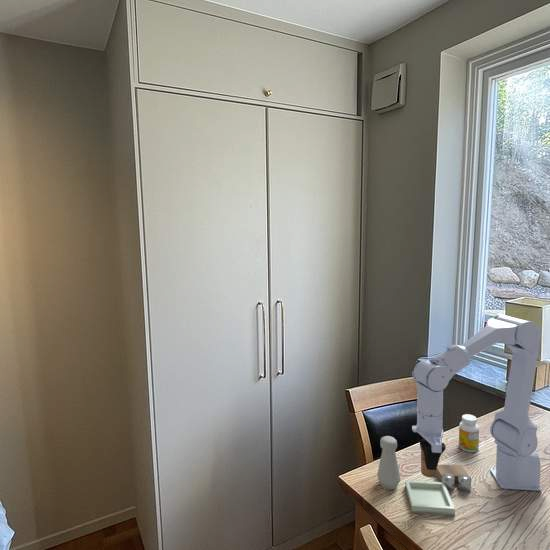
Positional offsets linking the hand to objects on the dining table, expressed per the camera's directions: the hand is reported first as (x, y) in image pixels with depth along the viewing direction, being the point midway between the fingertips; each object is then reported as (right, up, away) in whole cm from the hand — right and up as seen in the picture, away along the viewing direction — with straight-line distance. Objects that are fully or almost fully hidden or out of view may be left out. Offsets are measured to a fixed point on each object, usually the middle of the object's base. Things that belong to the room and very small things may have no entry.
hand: (429, 463), depth 97 cm
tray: (0, -10, +1) cm, 10 cm away
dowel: (0, -2, 0) cm, 3 cm away
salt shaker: (-8, -9, +8) cm, 14 cm away
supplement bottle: (+21, -6, +23) cm, 32 cm away
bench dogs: (+9, -9, +5) cm, 14 cm away
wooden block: (+10, -9, +10) cm, 16 cm away
